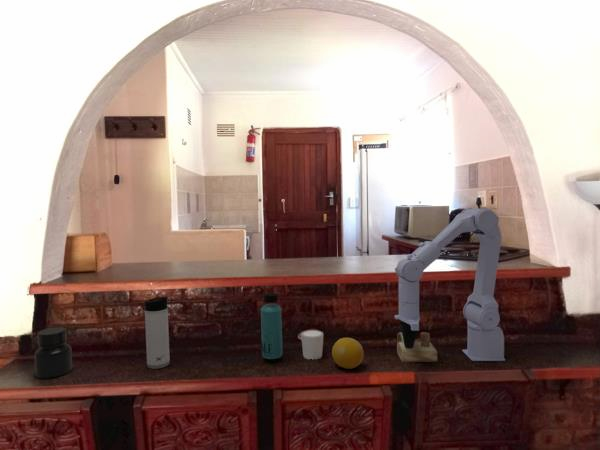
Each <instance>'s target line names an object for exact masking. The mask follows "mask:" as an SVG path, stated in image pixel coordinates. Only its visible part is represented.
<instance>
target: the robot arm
mask: <svg viewBox="0 0 600 450" xmlns="http://www.w3.org/2000/svg"><path fill="white" fill-rule="evenodd" d="M499 219H500V217H499V216H498V215H497V214H496V213H495V211H493V209H491V208H486V207H485V208H472V207H466V208H464V209H463V210H461V212H460V213H458V214H456V215H455V217H454V218H453V220H452V221H451V222H450V223H448V225H446V226H445V228H444V229H443V230H442V231H441V232H440V233H439V234H438V235H437V236H436V237H434V239H432V240H431V241H430V240H426V241H424V242H422V241H421V242H420V243H419V244H418V247H417V248H416V249H414V251H413V252H412V253H411V254H410V253H408V254H407V255H406V257H407V258H401V260H399V261H398V262H397V264H396V267H394V271H395V274H396V276H397V277H398V314H395V315H394V319H395V320H400V321H397V324H398V326H399V329H400V333H402V336H403V341H404V345H405V347H406V348H413V346H414V342H416V337H417V335H418V332H419V331H420V329H421V325H420V320H421V316H420V279H422V277H423V275H424V272H425V270H426V269H427V268H428V267H429V266H430V265H431V264H433V262H435V261H436V260H437V259H438V258H440V256H441V250H442V249H444V248H445V247H446V246H447V245H448V244H450V243H451V242H452V241H454V240H455V239H456V238H457V237H458V236H460V235H461V234H463V233H470V232H471V233H473V234H474V235H475V237H476V238H478V240H479V241H480V242H479V247H478V248H479V250H478V256H477V262H476V270H475V275H474V276H475V277H474V278H475V279H474V285H473V292H472V293H471V294H470V295H468V296H467V300H466V303H465V304H464V306H463V309H462V313H463V314H462V315H463V317H464V318H465V319H466V324H467V345H466V346H467V348H465V349H462V352H463V353H464V355H466V356H467V357H468V358H469V360H471V361H472V362H503V361H504V362H505V361H506V359H505V335H504V331H503V329H502V328H501V327H500V326H498V325H499V324H500V322H501V319H500V318H501V317H500V313H499V303H498V302H497V300H496V299H495V297H494V293H495V289H496V279H497V272H498V266H499V259H500V250H501V245H502V233H501V229H500V226H499V222H500V221H499Z"/></svg>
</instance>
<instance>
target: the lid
mask: <svg viewBox="0 0 600 450" xmlns="http://www.w3.org/2000/svg"><path fill="white" fill-rule="evenodd" d="M419 335H420V338H419V339H420V341H415V342H414V346H413V348H406V347H405V345H404V344H403V342H402V341H400V342H398V344H399V345H400V347H401V349H402V350H403V352H407V351H437V349H436V348H435V346H434V345H433V344H432V343H431V341H430V340H431V334H430V332H424V331H423V332H421V333H420V334H419Z"/></svg>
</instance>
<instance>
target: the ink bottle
mask: <svg viewBox="0 0 600 450" xmlns="http://www.w3.org/2000/svg"><path fill="white" fill-rule="evenodd" d="M67 336H68V335H67V328H66V327H60V326H58V327H55V326H54V327H49V328H46V329H45V328H44V329H42V330H40V331H38V332H37V341H38V343H37V344H38V349H36V350H35V353H34V365H35V366H34V368H35V376H36V378H39V379H51V378H57V377H62V376H64V375H67V374H68V373H69V372H70V371H72V369H73V351H72V346H71V345H70V344H69V343H67V341H68V339H67Z"/></svg>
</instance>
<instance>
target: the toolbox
mask: <svg viewBox="0 0 600 450" xmlns="http://www.w3.org/2000/svg"><path fill="white" fill-rule="evenodd" d="M400 333H401V332H398V333H397V334H396V335H397V336H396V338H397V339H396V353H397V355H398V357H399V358H400V360H401V363H437V362H438V350H436V351H407V352H403V350H402V349H401V347H400V345H399V344H398V342H401V340H400Z"/></svg>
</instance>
